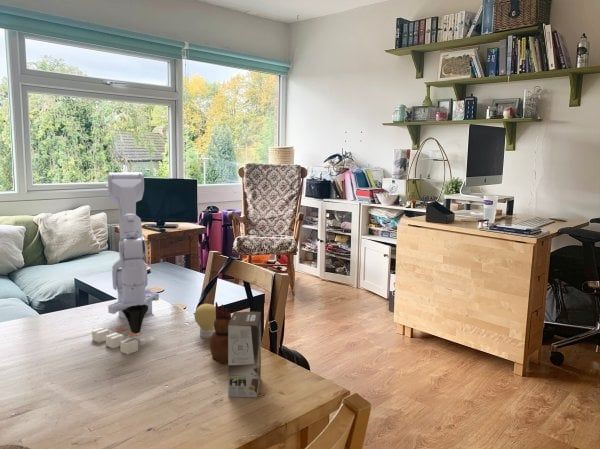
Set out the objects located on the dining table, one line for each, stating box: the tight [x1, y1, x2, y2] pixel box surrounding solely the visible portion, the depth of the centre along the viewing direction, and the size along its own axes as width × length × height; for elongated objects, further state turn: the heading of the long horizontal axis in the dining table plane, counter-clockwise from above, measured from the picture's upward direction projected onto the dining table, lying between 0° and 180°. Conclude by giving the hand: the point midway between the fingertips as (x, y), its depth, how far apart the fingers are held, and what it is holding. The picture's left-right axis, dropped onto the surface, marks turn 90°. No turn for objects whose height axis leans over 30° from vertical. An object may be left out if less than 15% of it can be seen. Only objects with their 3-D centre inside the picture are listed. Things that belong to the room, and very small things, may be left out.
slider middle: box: [105, 332, 124, 349], centre depth 128 cm, size 3×3×3 cm
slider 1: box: [91, 327, 110, 344], centre depth 132 cm, size 3×3×3 cm
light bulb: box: [194, 303, 216, 339], centre depth 136 cm, size 6×6×10 cm
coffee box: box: [227, 311, 262, 398], centre depth 109 cm, size 9×6×16 cm
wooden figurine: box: [209, 301, 232, 364], centre depth 122 cm, size 7×6×15 cm
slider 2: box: [119, 337, 139, 355], centre depth 125 cm, size 3×3×3 cm
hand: (135, 332), depth 134 cm, fingers closed
